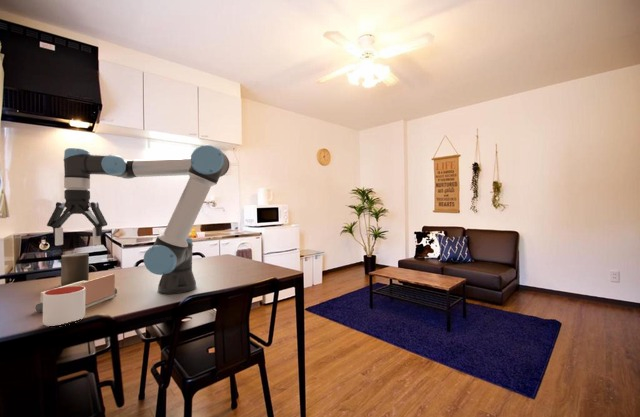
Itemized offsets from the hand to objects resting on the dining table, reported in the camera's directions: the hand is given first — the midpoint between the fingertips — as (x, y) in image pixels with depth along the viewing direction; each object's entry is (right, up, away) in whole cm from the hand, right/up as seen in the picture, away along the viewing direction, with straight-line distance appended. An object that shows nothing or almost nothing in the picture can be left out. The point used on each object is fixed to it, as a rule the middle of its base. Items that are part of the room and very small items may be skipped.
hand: (77, 244), depth 109 cm
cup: (+12, -22, -19) cm, 32 cm away
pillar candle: (-20, -21, +22) cm, 37 cm away
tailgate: (+10, -20, -3) cm, 23 cm away
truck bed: (+3, -22, -2) cm, 22 cm away
